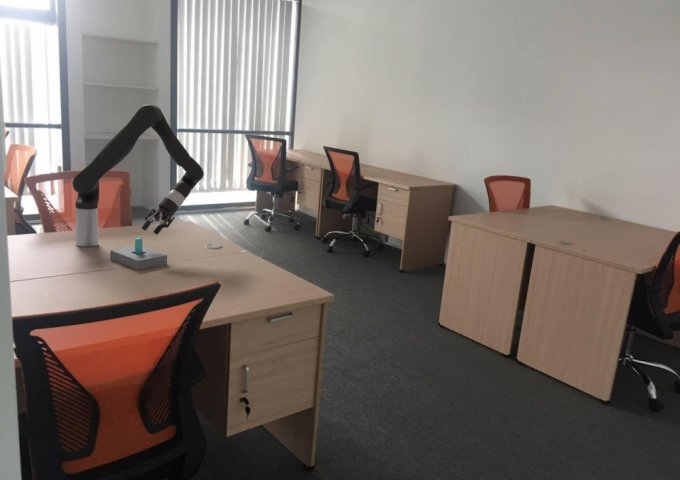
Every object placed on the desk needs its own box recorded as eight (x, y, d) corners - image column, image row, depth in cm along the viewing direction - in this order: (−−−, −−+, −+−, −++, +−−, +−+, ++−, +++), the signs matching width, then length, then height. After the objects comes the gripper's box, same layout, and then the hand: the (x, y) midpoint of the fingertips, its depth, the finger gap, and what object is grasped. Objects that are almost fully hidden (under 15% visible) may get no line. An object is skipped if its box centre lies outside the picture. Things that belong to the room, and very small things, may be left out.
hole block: (110, 259, 249) (110, 250, 248) (139, 254, 260) (139, 245, 259) (137, 270, 238) (137, 260, 237) (167, 264, 248) (167, 255, 247)
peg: (133, 261, 249) (133, 238, 246) (139, 260, 251) (139, 237, 249) (137, 263, 247) (137, 239, 245) (143, 261, 249) (143, 238, 247)
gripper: (157, 194, 257) (133, 222, 251) (177, 199, 249) (153, 229, 243) (167, 205, 263) (144, 233, 257) (187, 210, 254) (164, 240, 248)
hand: (149, 231), depth 250 cm, fingers open, 8 cm apart
